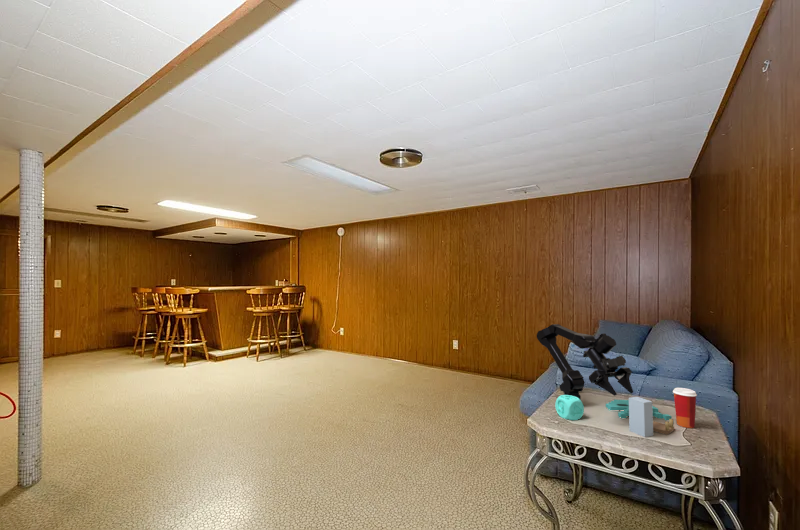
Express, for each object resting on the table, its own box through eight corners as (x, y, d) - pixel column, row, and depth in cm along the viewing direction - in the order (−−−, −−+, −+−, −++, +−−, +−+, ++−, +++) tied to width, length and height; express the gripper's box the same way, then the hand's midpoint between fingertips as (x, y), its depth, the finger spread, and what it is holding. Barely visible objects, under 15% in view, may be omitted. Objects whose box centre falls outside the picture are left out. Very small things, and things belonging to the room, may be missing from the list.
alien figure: (671, 421, 149) (643, 405, 169) (671, 416, 149) (643, 400, 169) (620, 419, 151) (599, 403, 170) (620, 414, 151) (599, 398, 171)
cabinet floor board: (636, 426, 142) (636, 415, 143) (644, 421, 147) (644, 411, 147) (667, 435, 134) (667, 423, 134) (674, 429, 139) (674, 418, 139)
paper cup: (691, 422, 146) (690, 388, 147) (702, 430, 139) (701, 393, 140) (669, 420, 148) (668, 386, 149) (679, 428, 141) (678, 392, 141)
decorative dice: (584, 419, 149) (584, 399, 150) (568, 421, 147) (568, 401, 147) (570, 412, 157) (569, 394, 157) (555, 414, 155) (554, 395, 155)
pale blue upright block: (629, 430, 138) (628, 397, 138) (637, 429, 139) (636, 396, 140) (644, 437, 132) (643, 402, 133) (653, 435, 134) (652, 401, 134)
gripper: (594, 350, 145) (619, 385, 134) (627, 347, 152) (654, 381, 141) (578, 365, 152) (602, 400, 141) (611, 362, 159) (635, 395, 148)
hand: (624, 393), depth 143 cm, fingers open, 9 cm apart
